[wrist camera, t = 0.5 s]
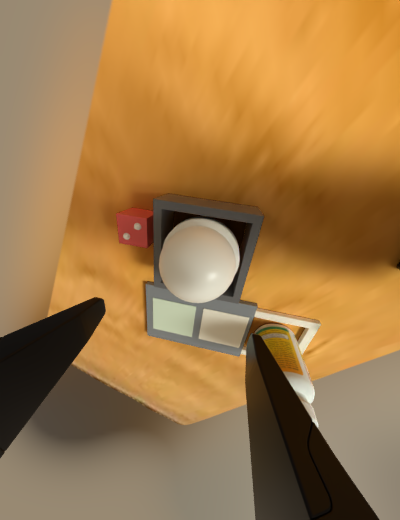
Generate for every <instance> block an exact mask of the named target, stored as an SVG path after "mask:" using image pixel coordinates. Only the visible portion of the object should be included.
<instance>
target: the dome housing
mask: <svg viewBox="0 0 400 520" xmlns="http://www.w3.org/2000/svg"><path fill="white" fill-rule="evenodd" d="M174 211H178V212H184V213H190V214H197V215H203V216H209V217H215V218H222V219H228V220H234V221H240V222H247V223H246V227H245V231H244V235H243V239H242V243H241V247H240V251H239V256H240V259H239V267H238V269H237V272H236V274H235V276H234V278H233V281H232V283H231V285H230V286H229V287H228V289H227V290H226V291H225V292H224V293H223V294H222V295H220V296H219V297H218V298H216V300H221V301H226V302H231V303H236V304H239V301H240V297H241V294H242V290H243V287H244V284H245V280H246V277H247V273H248V270H249V267H250V263H251V260H252V256H253V253H254V250H255V246H256V243H257V239H258V236H259V233H260V229H261V226H262V222H263V219H264V215H263V214H262V212H261V211H260V209H259V208H258V207H254V206H247V205H241V204H234V203H227V202H221V201H214V200H208V199H201V198H194V197H188V196H181V195H175V194H166V195H163V196H160V197H157V198H154V199H153V211H150V210H144V209H138V208H130V209H127V210H124V211H122V212H119V213H116V217H117V226H118V235H119V243H122V244H128V245H133V246H139V247H144V248H148V247H149V246H150V245H151V244H153V243H154V287H158V288H163V289H167V287H166V286H165V284H164V282H163V280H162V278H161V275H160V270H159V258H160V254H161V251H162V249H163V244H164V241H165V239H166V237H167V236H168V234H169V233H170V232H171V231H172V230H173V227H174Z"/></svg>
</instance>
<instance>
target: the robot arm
mask: <svg viewBox="0 0 400 520" xmlns="http://www.w3.org/2000/svg"><path fill="white" fill-rule="evenodd" d="M397 268H398V269H399V270H400V262H399V264H398V265H397ZM105 312H106V309H105V304H104V300H103V299H102V298H97V297H94V298H92V299H89V300H87V301H85V302H82V303H80V304H78V305H75V306H73V307H71V308H68V309H66V310H64V311H61V312H59V313H57V314H54V315H52V316H50V317H47V318H45V319H43V320H40V321H38V322H36V323H33V324H31V325H29V326H26V327H24V328H22V329H19V330H17V331H15V332H12V333H10V334H7V335H5V336H4V337H0V458H1V457H2V455H3V454H4V452H5V450H7V448H8V447H9V446H10V444H11V443H12V442H13V440H14V439H15V438H16V436H17V435H18V434H19V432H20V431H21V430H22V428H23V427H24V426H25V424H26V423H27V422H28V420H29V419H30V418H31V416H32V415H33V414H34V412H35V411H36V410H37V408H38V407H39V406H40V404H41V403H42V402H43V400H44V399H45V398H46V397H47V395H48V394H49V392H50V391H51V390H52V388H53V387H54V386H55V385H56V383H57V382H58V381H59V379H60V378H61V377H62V375H63V374H64V373H65V371H66V370H67V368H68V367H69V366H70V365H71V363H72V362H73V361H74V359H75V358H76V357H77V355H78V354H79V353H80V351H81V350H82V349H83V347H84V346H85V345H86V343H87V342H88V340H89V339H90V337H91V336H92V334H93V332H94V331H95V329H96V328H97V326H98V324H99V323H100V321H101V319H102V318H103V316H104V314H105ZM245 384H246V399H247V412H248V424H249V438H250V452H251V464H252V478H253V492H254V504H255V518H256V520H379V518H378V517H377V515H376V514H375V512H374V511H373V510H372V508H371V507H370V505H369V504H368V502H367V501H366V500H365V498H364V497H363V495H362V494H361V493H360V491H359V490H358V488H357V487H356V485H355V484H354V483H353V481H352V480H351V478H350V477H349V475H348V474H347V472H346V471H345V469H344V468H343V466H342V465H341V464H340V462H339V461H338V459H337V458H336V456H335V455H334V453H333V452H332V450H331V448H330V447H329V445H328V444H327V442H326V440H325V439H324V438H323V436H322V434H321V433H320V431H319V430H318V428H317V426H316V424H315V423H314V422H312V418H311V416H310V415H309V413H308V412H307V410H306V408H305V407H304V405H303V403H302V402H301V400H300V399H299V397H298V395H297V394H296V392H295V390H294V389H293V387H292V386H291V384H290V382H289V381H288V379H287V377H286V376H285V374H284V373H283V371H282V369H281V368H280V366H279V364H278V363H277V361H276V360H275V358H274V356H273V355H272V353H271V351H270V350H269V348H268V347H267V345H266V343H265V342H264V340H263V338H262V337H261V336H260V335H259V334H255V333H251V335H250V337H249V340H248V343H247V347H246V375H245Z"/></svg>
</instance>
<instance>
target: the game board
mask: <svg viewBox="0 0 400 520" xmlns="http://www.w3.org/2000/svg"><path fill="white" fill-rule="evenodd" d="M146 306H147V333H148V335H149V336H153V337H157V338H162V339H166V340H170V341H174V342H179V343H183V344H187V345H192V346H196V347H200V348H205V349H209V350H213V351H217V352H222V353H226V354H230V355H235V356H240V354H244V355H246V347H245V346H243V345H244V343H245V340H246V337H247V335H248V332H249V329H250V326H251V324H252V321H253V318H254V317H257V318H262V319H267V320H272V321H276V322H281V323H286V324H291V325H295V326H300V327H305V330H304V331H303V333H302V335H301V336H300V338H299V340H298V342H297V343H298V345H299V348H300V351H301V354H303V352H304V351H305V349H306V348H307V346H308V345H309V343H310V341H311V340H312V338H313V337H314V335H315V334H316V332H317V330H318V329H319V327H320V326H321V323H320V321H318V320H313V319H308V318H303V317H298V316H293V315H289V314H284V313H279V312H274V311H269V310H264V309H259V308H257V307H258V306H257V303H252V302H247V301H242V300H240V301H239V304H236V303H231V302H226V301H221V300H216V299H214V300H211V301H208V302H204V303H191V302H187V301H184V300H181V299H179V298H178V297H176V296H175V295H173V294H172V293H171V292H170V291H169V290H168V289H163V288H158V287H154V283H153V282H147V283H146Z"/></svg>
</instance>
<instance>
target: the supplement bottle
mask: <svg viewBox="0 0 400 520" xmlns="http://www.w3.org/2000/svg"><path fill="white" fill-rule="evenodd" d="M255 334H259V335H260V336H261V337H262V338H263V340H264V342H265V343H266V345H267V347H268V348H269V350H270V351H271V353H272V355H273V356H274V358H275V360H276V361H277V363H278V364H279V366H280V368H281V369H282V371H283V373H284V374H285V376H286V377H287V379H288V381H289V382H290V384H291V386H292V387H293V389H294V390H295V392H296V394H297V395H298V397H299V399H300V400H301V402H302V403H303V405H304V407H305V408H306V410H307V412H308V413H309V415H310V416H311V418H312V422H314V423H315V424H316V426H317V428H318V422H317V419H316V416H315V412H314V409H313V407H312V406H311V403H312V401H313V400H314V396H315V391H314V387H313V384H312V381H311V378H310V376H309V373H308V370H307V367H306V365H305V362H304V359H303V357H302V354H301V351H300V348H299V345H298V343H297V340H296V338H295V335H294V333H293V332H292V331H291V330H290V329H289V328H288V327H286V326H284V325H280V324H265V325H263V326H261V327H259V328H258V329H257V330H256V331H255Z"/></svg>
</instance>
